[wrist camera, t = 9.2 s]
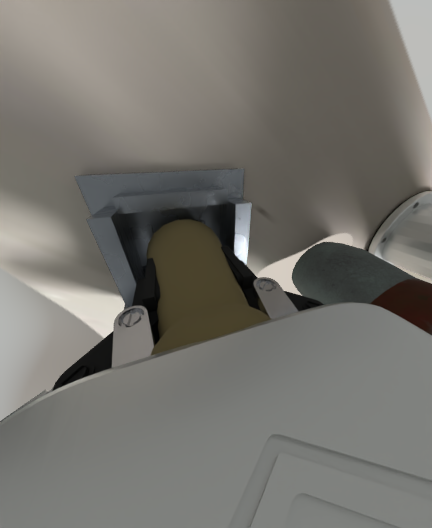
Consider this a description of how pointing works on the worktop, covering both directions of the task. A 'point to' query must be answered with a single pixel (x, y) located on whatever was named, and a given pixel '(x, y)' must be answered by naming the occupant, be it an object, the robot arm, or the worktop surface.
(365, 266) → the bottle
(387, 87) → the worktop surface
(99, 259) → the worktop surface
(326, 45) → the worktop surface
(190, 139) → the worktop surface
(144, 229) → the clip bracket
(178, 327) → the cork
